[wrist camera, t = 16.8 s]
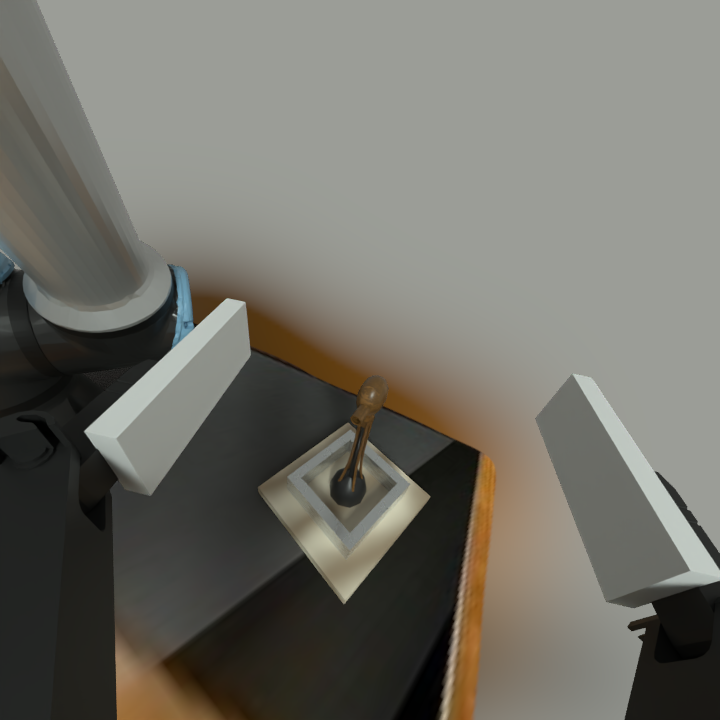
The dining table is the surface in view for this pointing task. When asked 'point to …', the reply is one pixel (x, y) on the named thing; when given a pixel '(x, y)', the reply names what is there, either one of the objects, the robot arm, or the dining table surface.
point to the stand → (341, 518)
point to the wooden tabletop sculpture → (359, 444)
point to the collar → (321, 513)
